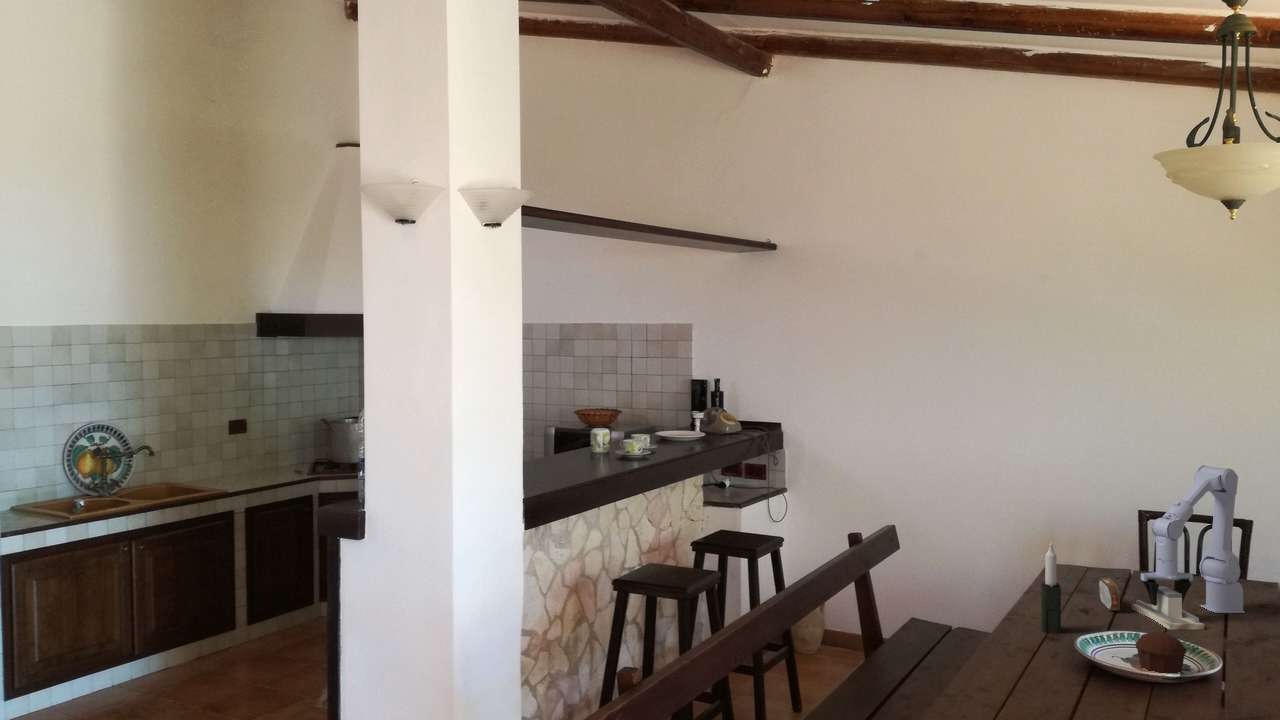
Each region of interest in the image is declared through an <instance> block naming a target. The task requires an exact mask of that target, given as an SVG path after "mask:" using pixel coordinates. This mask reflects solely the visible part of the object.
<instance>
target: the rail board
mask: <svg viewBox="0 0 1280 720" xmlns="http://www.w3.org/2000/svg"><path fill="white" fill-rule="evenodd" d="M1131 610H1133V611H1134V610H1135V611H1134V612H1136V611H1137V612H1136V613H1138V612H1139V614H1140V613H1141V614H1140V615H1142V614H1143V615H1142V616H1144V615H1145V616H1147V617H1149V618H1151V619H1153V620H1155V621H1156V622H1158V623H1159V624H1158V623H1157V624H1158V625H1160V624H1161V625H1160V626H1162V625H1163V626H1162V627H1164V628H1165V629H1167V630H1172V631H1173V630H1175V631H1176V630H1179V631H1180V630H1182V631H1183V630H1184V631H1185V630H1205V623H1203V622H1201V621H1200V618H1199V617H1198V616H1196V615H1194V614H1192V613H1189V611H1186V610H1184V609H1182V618H1173V617H1171V616H1170V615H1168V614H1166V613H1164V612H1162V611H1160V610H1158V609H1156V608H1154V607H1152V604H1151V603H1147V602H1144V601H1142V599H1141V600H1140V599H1136V601H1135V603H1131ZM1145 616H1144V617H1145ZM1147 617H1146V618H1147ZM1149 618H1148V619H1149ZM1151 619H1150V620H1151ZM1153 620H1152V621H1153ZM1155 621H1154V622H1155ZM1156 622H1155V623H1156Z"/></svg>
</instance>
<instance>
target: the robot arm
mask: <svg viewBox="0 0 1280 720" xmlns="http://www.w3.org/2000/svg"><path fill="white" fill-rule="evenodd" d="M1238 481H1239V476H1238V474H1237V473H1236V472H1235V470H1234V469H1233V468H1226V467H1225V468H1224V467H1215V466H1209V465H1208V466H1207V465H1205V464H1202V465H1200V466H1198V468H1197V469H1196V470H1195V472H1194V473H1193V482H1192V484H1191V485H1190V487H1189V489H1187V491H1186V493H1185V494H1184V496H1183V497H1182V499H1177V500H1175V501H1174V502H1173V503H1172V504H1171V505H1170V507H1169V508H1168V509H1167V511H1166V512H1165V513H1164V515H1163V516H1162V517H1158V518H1156V519H1155V520H1154V521H1153V522H1152V525H1151V527H1150V531H1151V533H1152V535H1153V541H1154V543H1155V572H1153V571H1152V572H1146V573H1145V572H1143V573H1140V580H1141V581H1142V584H1143V585H1144V586H1145V589H1146V591H1147V595H1148V597H1149V601H1150V604H1152V605H1154V606H1157V592H1158V587H1160V584H1159V583H1157V582H1159V581H1174V586H1175V587H1174V588H1175V591H1176V592H1178V593H1180V594H1182V606H1183V604H1184V601H1185V597H1186V595H1187V593H1188V592H1189V589H1190V588H1191V587H1192V582H1193V581H1194V575H1193V574H1192V573H1190V572H1178V567H1179V566H1178V565H1179V563H1178V561H1179V560H1178V558H1179V555H1178V554H1179V553H1178V552H1179V551H1178V549H1179V547H1178V546H1179V545H1178V543H1179V541H1178V540H1179V539H1180V538H1181V537H1182V535H1183V533H1184V528H1185V527H1186V526H1185V524H1186V523H1187V522H1188V521H1189V519H1190V518H1191V517H1192V515H1194V508H1193V507H1194V506H1195V505H1196V504H1197V503H1198V502H1199V501H1200V500H1201V499H1202V498H1203V497H1204V496H1205V495H1206V494H1207V493H1208V492H1210V493H1211V495H1212V496H1213V497H1214V507H1213V518H1212V529H1211V539H1210V540H1211V541H1210V548H1208V549H1207V550H1205V551H1203V552H1202V557H1201V561H1200V563H1199V567H1198V568H1199V571H1200V574H1201V576H1202V577H1203V580H1205V604H1199V607H1200V606H1201V608H1202V607H1203V609H1204V608H1205V609H1204V610H1206V609H1207V610H1206V611H1208V612H1211V611H1212V612H1211V613H1213V612H1214V614H1244V613H1246V611H1244V589H1243V586H1242V584H1241V583H1240V582H1239V581H1238V580H1239V578H1240V576H1241V568H1240V564H1239V563H1240V558H1239V557H1238V555H1236V554H1235V553H1234V552H1233V551H1232V549H1231V548H1232V539H1233V529H1234V528H1233V527H1234V517H1235V503H1236V496H1237V495H1238V494H1237V491H1238Z"/></svg>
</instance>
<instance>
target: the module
mask: <svg viewBox="0 0 1280 720" xmlns="http://www.w3.org/2000/svg"><path fill="white" fill-rule="evenodd" d="M1152 607H1154V608H1156V609H1158V610H1160V611H1162V612H1164V613H1166V614H1168V615H1170V616H1171V617H1173V618H1182V610H1183V605H1182V594H1180V593H1178V592H1176V590H1174V589H1171V588H1169V587H1168V586H1159V587H1158V592H1157V606H1154V605H1152Z"/></svg>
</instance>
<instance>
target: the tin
mask: <svg viewBox="0 0 1280 720" xmlns="http://www.w3.org/2000/svg"><path fill="white" fill-rule="evenodd" d="M1098 586H1099V587H1098V588H1099V598H1100V602H1101V603H1102V605H1103V606H1104V607H1105V608H1106V609H1107V610H1108V611H1110V612H1120V609H1121V597H1120V591H1119V589H1118V586H1117V584H1116V583H1115V582H1114V581H1113V580H1112V579H1111V578H1110V577H1103V578H1102V577H1101V578H1100V579H1099V581H1098Z"/></svg>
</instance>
